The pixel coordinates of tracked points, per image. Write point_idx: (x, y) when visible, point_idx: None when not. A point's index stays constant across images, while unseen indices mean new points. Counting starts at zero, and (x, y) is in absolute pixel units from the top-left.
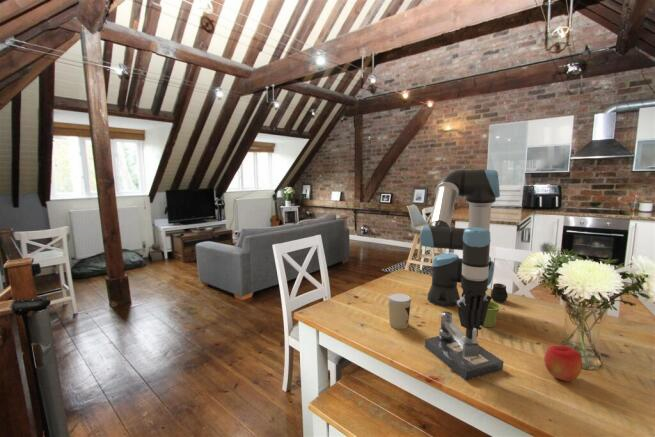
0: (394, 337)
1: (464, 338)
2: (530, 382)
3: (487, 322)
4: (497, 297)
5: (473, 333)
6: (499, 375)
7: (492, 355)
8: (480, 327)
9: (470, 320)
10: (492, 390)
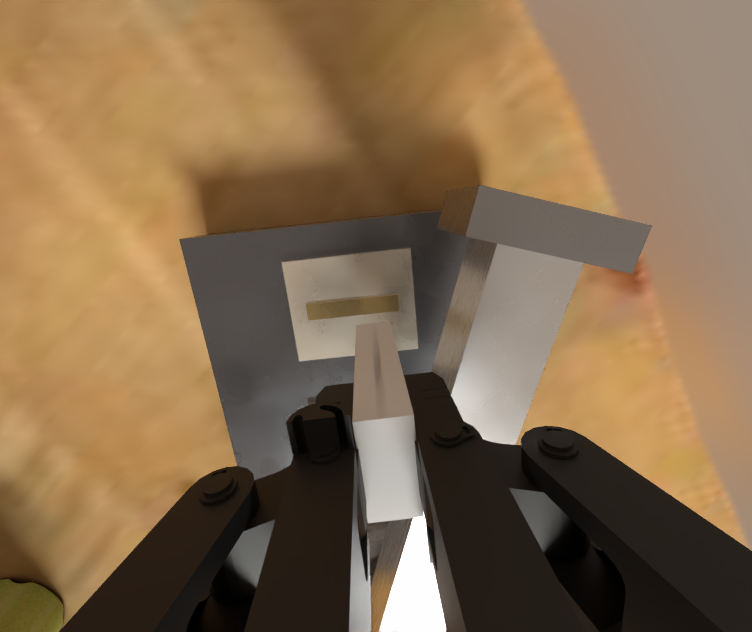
0: None
1: (496, 381)
2: (116, 84)
3: (10, 614)
4: None
5: (406, 393)
6: (261, 195)
7: (211, 313)
8: (295, 433)
9: (547, 580)
10: (399, 86)
